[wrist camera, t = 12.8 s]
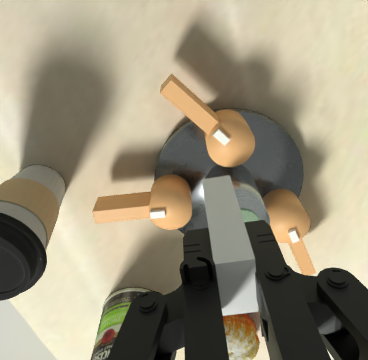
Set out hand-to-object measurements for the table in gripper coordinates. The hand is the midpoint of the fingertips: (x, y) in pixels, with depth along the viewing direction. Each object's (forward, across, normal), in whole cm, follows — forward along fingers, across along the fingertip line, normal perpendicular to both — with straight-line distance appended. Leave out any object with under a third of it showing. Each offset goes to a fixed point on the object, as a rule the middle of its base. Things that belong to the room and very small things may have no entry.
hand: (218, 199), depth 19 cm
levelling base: (+22, +2, -11) cm, 25 cm away
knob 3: (+20, +9, -18) cm, 28 cm away
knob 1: (+20, -8, -11) cm, 24 cm away
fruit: (+22, 0, -37) cm, 43 cm away
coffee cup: (+22, -20, -8) cm, 31 cm away
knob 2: (+20, +1, -2) cm, 20 cm away
